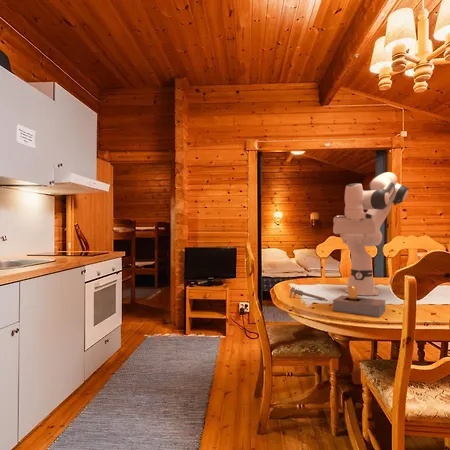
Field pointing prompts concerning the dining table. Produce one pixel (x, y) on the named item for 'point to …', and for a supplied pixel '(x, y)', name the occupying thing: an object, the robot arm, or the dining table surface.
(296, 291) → the caliper
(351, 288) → the block
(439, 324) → the dining table surface
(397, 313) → the dining table surface
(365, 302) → the block
